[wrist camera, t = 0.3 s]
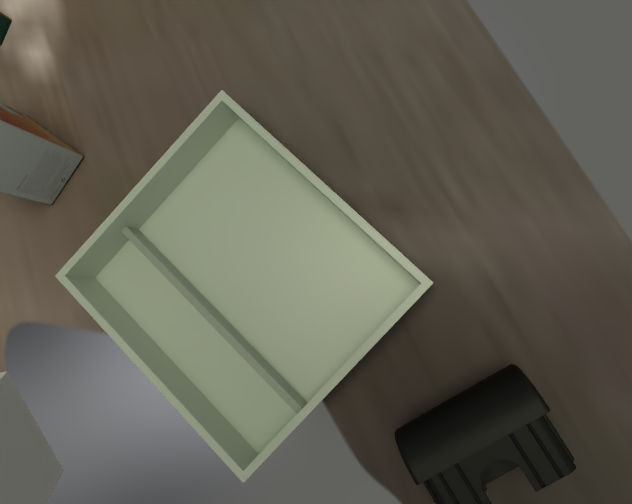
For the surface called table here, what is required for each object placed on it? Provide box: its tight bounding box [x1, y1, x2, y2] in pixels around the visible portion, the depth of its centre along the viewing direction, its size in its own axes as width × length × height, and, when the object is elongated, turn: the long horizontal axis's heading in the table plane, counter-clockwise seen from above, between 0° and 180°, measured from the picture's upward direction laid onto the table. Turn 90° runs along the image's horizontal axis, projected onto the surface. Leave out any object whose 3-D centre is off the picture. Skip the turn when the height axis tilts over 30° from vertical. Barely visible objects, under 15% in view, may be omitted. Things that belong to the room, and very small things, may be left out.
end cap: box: [395, 364, 576, 504], centre depth 38 cm, size 10×7×7 cm
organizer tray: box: [56, 90, 433, 483], centre depth 43 cm, size 22×20×5 cm
